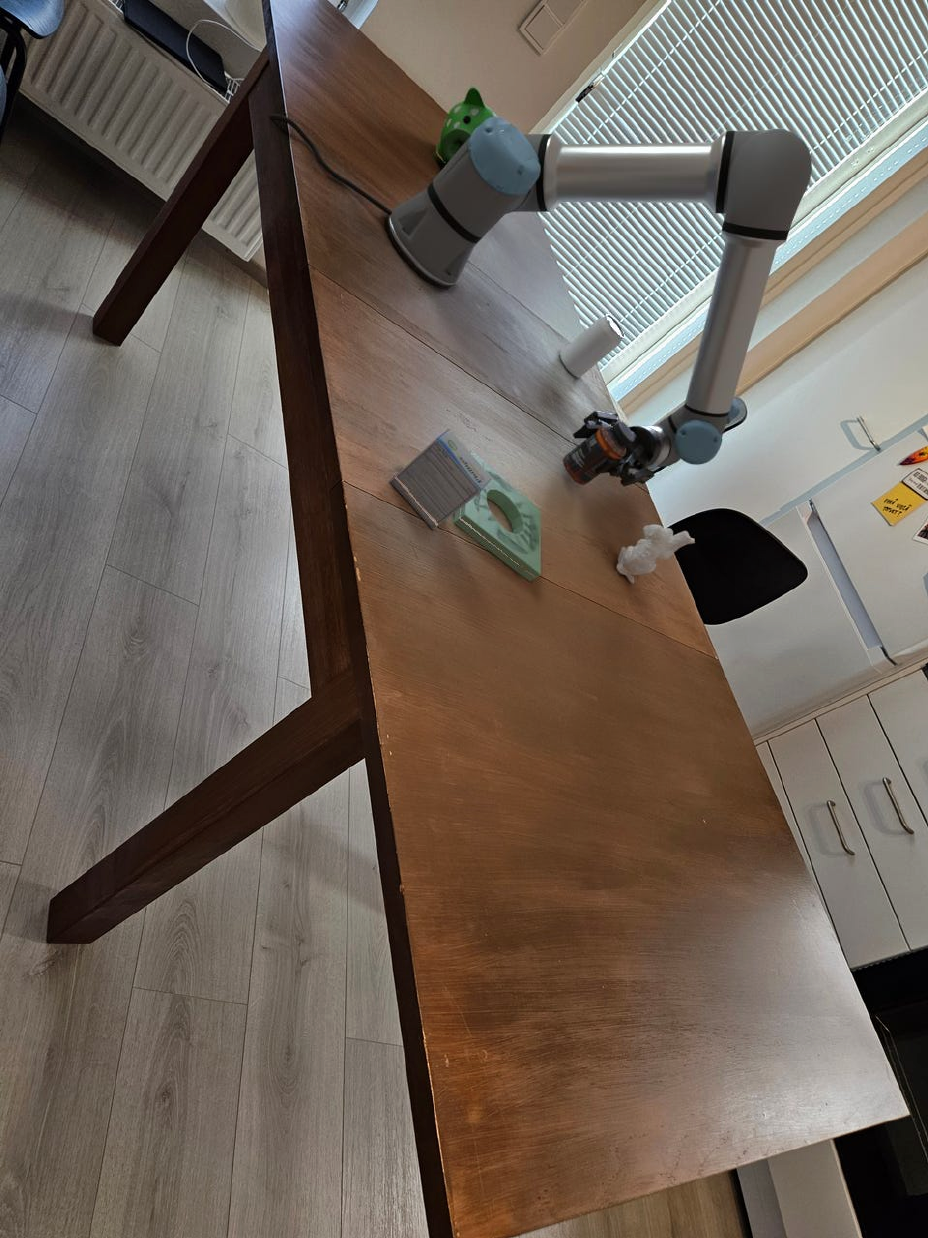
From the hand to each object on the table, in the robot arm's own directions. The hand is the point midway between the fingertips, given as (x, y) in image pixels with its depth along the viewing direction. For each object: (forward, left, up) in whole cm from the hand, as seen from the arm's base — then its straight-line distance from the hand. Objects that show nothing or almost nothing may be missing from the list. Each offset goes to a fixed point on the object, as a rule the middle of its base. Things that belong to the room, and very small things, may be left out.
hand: (591, 449), depth 125 cm
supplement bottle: (+3, +4, -7) cm, 8 cm away
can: (+6, +44, -8) cm, 45 cm away
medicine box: (-25, -30, -8) cm, 40 cm away
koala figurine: (+17, -9, -8) cm, 21 cm away
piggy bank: (-31, +80, -8) cm, 86 cm away
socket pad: (-12, -22, -8) cm, 27 cm away
